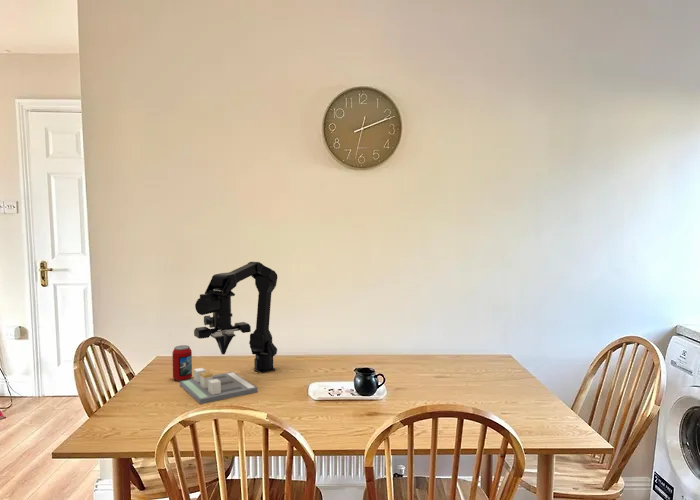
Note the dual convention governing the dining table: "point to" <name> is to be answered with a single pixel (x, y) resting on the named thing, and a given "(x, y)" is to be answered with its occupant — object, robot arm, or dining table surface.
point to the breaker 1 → (198, 374)
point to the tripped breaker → (205, 379)
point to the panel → (229, 388)
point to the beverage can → (182, 363)
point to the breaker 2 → (214, 386)
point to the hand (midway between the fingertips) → (223, 354)
